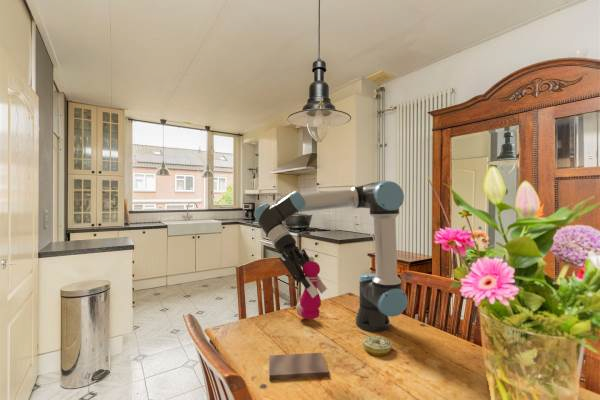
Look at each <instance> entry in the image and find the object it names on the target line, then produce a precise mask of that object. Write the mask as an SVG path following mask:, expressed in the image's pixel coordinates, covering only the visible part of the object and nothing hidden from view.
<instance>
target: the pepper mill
mask: <svg viewBox="0 0 600 400" xmlns="http://www.w3.org/2000/svg"><path fill="white" fill-rule="evenodd" d="M302 271H303V273H304V275H305V278H306V277H308V278H309V279H310V281H311V282H312V284H313V285H314V286H315V288H316V289H317V290H318V288H317V281H318V276H319V273H320V272H321V267H320V264H319V263H318V262H316V261H315V258H314V257H313V256H309V261H308V262H306V263H305V264H304V265H303V268H302ZM299 300H300V301H299V302H300V305H301V307H302V310H301V316H302V317H301V316H300V317H301V318H303V317H304V318H303V319H305V318H308V319H309V320H310V319H313V320H314V319H317V318H319V316H320V309H319V308H321V306H322V300H321V296H320V292H319V293H318V294H317V295H316V296H315V297H314V298H312V296H311V295H310V293H309V292H308V291H307V289H306V288H305V287H304V289H303V293H302V294H301V297H300V299H299Z"/></svg>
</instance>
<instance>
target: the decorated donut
mask: <svg viewBox="0 0 600 400" xmlns="http://www.w3.org/2000/svg"><path fill="white" fill-rule="evenodd" d="M362 345H363V349H364V350H365V351H366V352H367V353H369V354H371V355H373V356H379V357H382V356H386V355H388V354H390V352H391V351H392V348H393V344H392V343H391V342H390V340H388V338H387V339H386V338H385V337H382V336H379V335H377V336H376V335H374V336H373V335H372V336H367V337H365V338H364V339H363V341H362Z"/></svg>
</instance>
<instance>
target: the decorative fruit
mask: <svg viewBox="0 0 600 400" xmlns="http://www.w3.org/2000/svg"><path fill="white" fill-rule="evenodd" d="M295 307H296V308H295V310H296V314H297V315H298V316H299V317H301V318H303V319H305V320H307V319H308V318H304V317H302V316H301V310H302V307H301V305H300V301H298V303H297V304H296V306H295Z"/></svg>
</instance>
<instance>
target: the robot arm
mask: <svg viewBox="0 0 600 400" xmlns="http://www.w3.org/2000/svg"><path fill="white" fill-rule="evenodd" d="M404 200H405V194H404V191H403V189H402V187H401V186H400V185H399V184H398V183H397V182H395V181H392V180H382V181H376V182H370V183H367V184H363V185H358V186H352V187H350V189H345V190H344V189H343V190H333V191H324V192H313V193H306V194H304V193H303V194H301V193H300V192H299V191H298V190H293V192H291V193H289V194H288V195H283V196H280V197H278V199H277V200H276V201H275V204H272V205H270V204H269V203H263V204H261V205H259V206H258V207H257V208H256V209H255V211H253V216H254V218H255V220H256V221H257V223H258V225H259V226H260V228H261V230H262V231H263V232H264V233H265V235H266V236H267V237H268V239H269V241H270V242H271V244H272V245H273V246H274V249H275V250H276V252H278V254H280V256H279V258H278V259H279V261H280V262H281V263H282V264H283V266H285V268H286V269H287V272H288V273H289V275H291V277H292V278H293V280H294V281H295V282H297V283H298V284H299V283H300V282H301V284H302V285H303V287H304V289H305V288H306V289H307V291H308V292H309V293H310V295H311V296H312V298H314V297H315V296H316V295H317V294H318V293H319V294H324V292H325V291H326V290H328V288H327V286H326V284H325V283H324V282H323V281H322V279H321V278H320V277H319V275H318V281H317V289H316V288H315V286H314V285H313V284H312V282H311V281H310V279H309V278H308V277H306V278H305V274H304V273H303V265H304V264H305V263H306V262H308V261H309V258H310V256H309V255H308V254H307V252H306V249H305V248H302V249H301V250H300V248H298V246H296V245H297V240H296V239H295V238H294V237H293V235H292V234H291V232H290V231H289V229H288V228H287V227H286V226H285V223H284V222H285V221H287V220H288V219H289V218H291V217H292V216H294V215H296V214H297V213H304V212H312V211H313V212H314V211H323V210H332V209H339V208H349V207H352V208H353V209H362V208H363V209H369V216H371V217H372V218H373V232H374V233H373V234H374V258H375V259H374V261H375V262H374V263H375V264H374V265H375V266H374V267H375V273H364V274H361V275H360V276H359V281H358V282H359V307H358V310H357V314H356V316H355V325H356V327H358V328H360V329H362V330H365V331H368V332H369V331H370V332H375V333H376V332H378V333H379V332H384V331H387V330H389V329H390V327H391V326H390V325H391V322H390V318H389V317H391V318H392V317H397V316H399V315H401V314H402V313H403V312H404V311H405V310H406V308H407V306H408V296H407V294H406V292H405V291H403V288H402V286H403V283H402V280H401V278H399V276H398V257H397V254H398V253H397V228H396V226H397V224H396V223H397V221H396V218H397V217H398V216H399V215H400V207H401V206H402V205H403V204H404Z"/></svg>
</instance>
